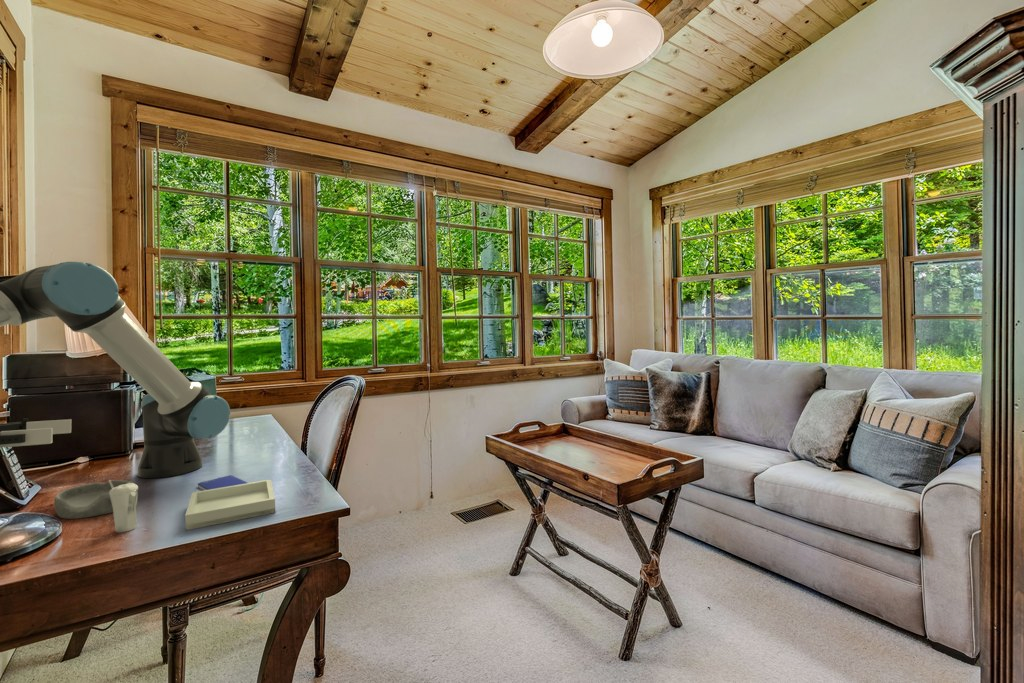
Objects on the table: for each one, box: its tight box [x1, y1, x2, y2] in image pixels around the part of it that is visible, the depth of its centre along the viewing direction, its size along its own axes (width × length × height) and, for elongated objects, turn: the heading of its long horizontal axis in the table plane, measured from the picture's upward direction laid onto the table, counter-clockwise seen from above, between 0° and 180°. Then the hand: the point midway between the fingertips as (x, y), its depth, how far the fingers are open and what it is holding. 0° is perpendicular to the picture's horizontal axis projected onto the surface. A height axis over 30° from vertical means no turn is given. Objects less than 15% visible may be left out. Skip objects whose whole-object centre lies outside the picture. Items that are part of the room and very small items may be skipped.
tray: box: [184, 479, 276, 531], centre depth 106 cm, size 16×16×3 cm
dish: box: [54, 479, 135, 520], centre depth 109 cm, size 14×14×5 cm
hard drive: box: [197, 474, 248, 491], centre depth 121 cm, size 2×8×12 cm
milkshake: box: [108, 479, 139, 533], centre depth 96 cm, size 4×5×10 cm
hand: (62, 430), depth 92 cm, fingers open, 13 cm apart
